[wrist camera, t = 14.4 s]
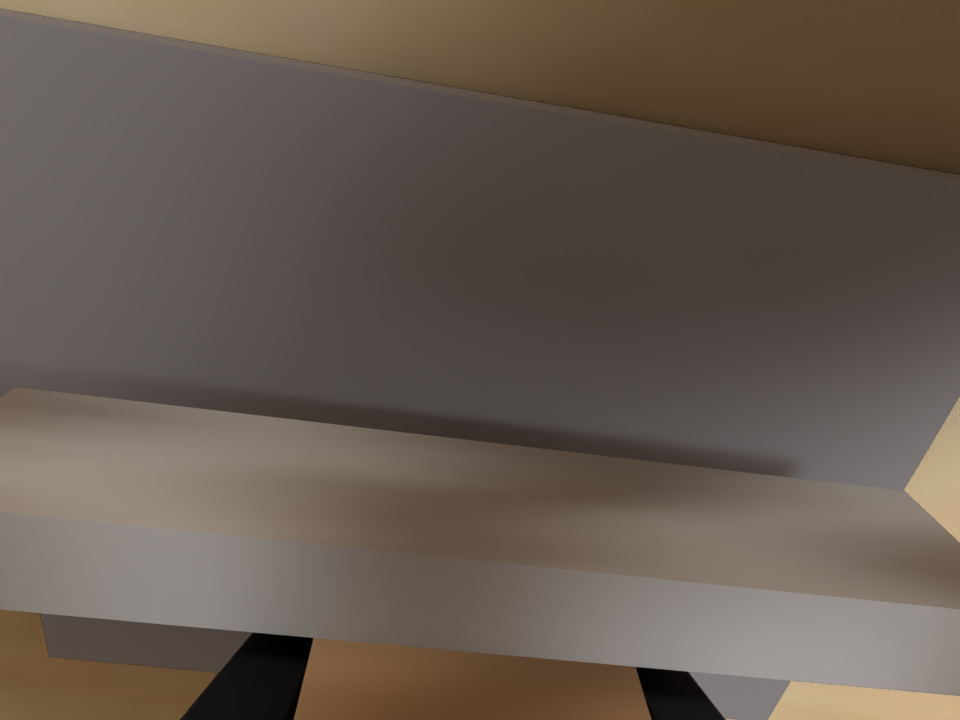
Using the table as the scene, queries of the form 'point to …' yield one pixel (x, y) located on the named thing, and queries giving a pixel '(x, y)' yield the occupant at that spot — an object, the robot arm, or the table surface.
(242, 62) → the rubber mat
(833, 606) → the wood and metal bracket
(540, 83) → the table surface
